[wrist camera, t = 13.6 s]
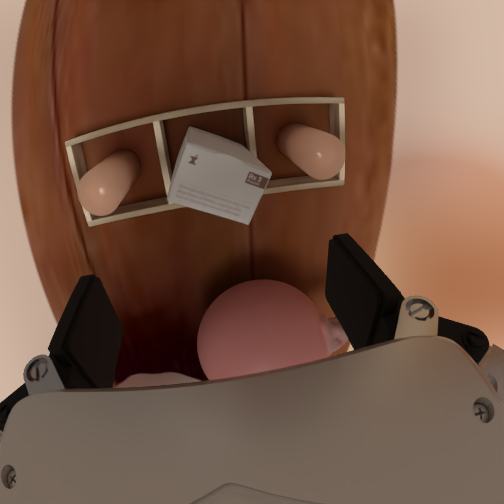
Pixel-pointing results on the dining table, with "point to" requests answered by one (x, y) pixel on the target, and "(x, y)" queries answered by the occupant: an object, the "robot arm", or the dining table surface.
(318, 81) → the dining table surface
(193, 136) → the skincare box
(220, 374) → the balloon
